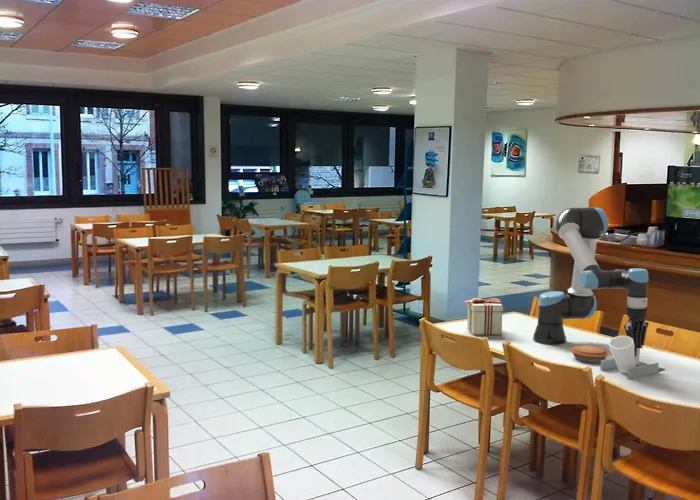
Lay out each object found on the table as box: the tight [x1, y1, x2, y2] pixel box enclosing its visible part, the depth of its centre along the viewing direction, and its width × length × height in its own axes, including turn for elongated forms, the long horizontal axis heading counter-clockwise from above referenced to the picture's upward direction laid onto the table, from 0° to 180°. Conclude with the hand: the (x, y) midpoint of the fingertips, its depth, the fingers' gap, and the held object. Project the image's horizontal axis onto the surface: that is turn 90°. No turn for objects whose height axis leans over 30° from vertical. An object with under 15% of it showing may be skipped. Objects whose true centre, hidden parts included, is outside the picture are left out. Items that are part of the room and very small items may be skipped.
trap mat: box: [635, 361, 666, 373], centre depth 272 cm, size 12×6×1 cm, turn 30°
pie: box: [570, 344, 610, 364], centre depth 283 cm, size 15×16×5 cm
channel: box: [600, 357, 659, 380], centre depth 266 cm, size 14×18×4 cm
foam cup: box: [608, 335, 636, 375], centre depth 262 cm, size 10×9×13 cm
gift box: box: [463, 297, 504, 336], centre depth 329 cm, size 17×18×17 cm
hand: (635, 363), depth 266 cm, fingers closed
